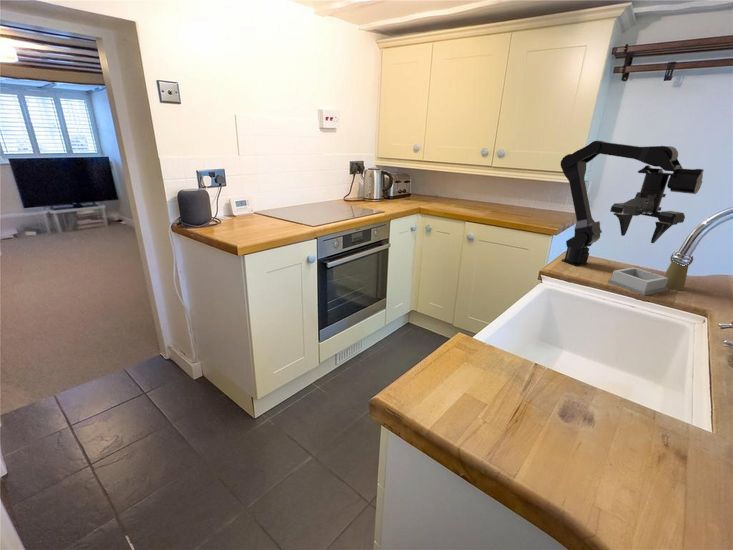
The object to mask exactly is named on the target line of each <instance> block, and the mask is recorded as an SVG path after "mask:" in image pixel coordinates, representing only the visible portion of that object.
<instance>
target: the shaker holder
mask: <svg viewBox="0 0 733 550" xmlns="http://www.w3.org/2000/svg"><path fill="white" fill-rule="evenodd" d="M667 281H668V278H667V277H664V275H661V274H658V273H654V272H650V271H648V270H645V269H641V268H638V267H628V268H622V269H616V270H613V273H612V276H611V278H608V280H607V282H608V283H609V282H610V283H609V284H612V285H614V284H615V285H614V286H617V287H620V288H622V287H623V288H622V289H625V288H626V289H625V290H629V291H630V290H631V291H630V292H634V293H637V294H639V295H641V296H649V295H653V294H657V293H658V294H659V293H662V292H667V291H668V290H669V289H668V287H666V284H667Z"/></svg>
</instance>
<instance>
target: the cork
mask: <svg viewBox="0 0 733 550" xmlns="http://www.w3.org/2000/svg"><path fill="white" fill-rule="evenodd" d="M674 253H675V252H673V253H672V254H671V255H670V264H669V266H668V268H667V269H666V271H665V273H664V275H663V276H664V277H667V278H668V281H667V284H666V287H668V289H667V290H672V291H677V290H682V291H685V286H686V280H687V275H688V269H689V266H690V265H691V264H692V263H693V262H694V256H693V255H692V257H691V260H690V262H689V264H687V265H685V266H682V265H680V264H677V263H675V262H673V260H672V256H673V254H674Z"/></svg>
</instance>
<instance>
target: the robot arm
mask: <svg viewBox="0 0 733 550" xmlns="http://www.w3.org/2000/svg"><path fill="white" fill-rule="evenodd" d="M600 154H601V155H606V156H612V157H618V158H619V157H620V158H626V159H631V160H633V159H634V160H636V161H638V162H641V163H643V164H646V165H645V166H644V167H643V168H641V169H639V170H638V171H637V173H638V174H644V178H643V181H642V185H641V188H640V190H639V191H638V192H636V194H635V196H634V198H631V199H629V200H627V201H625V202H616V203H613V204H612V205H611V206H610V213H613V216H616V217H617V219H618V221H619V228H620V235H621V237H622V236H623V237H624V236H625V235H626V234H627V231H628V230H629V227H630V224H631V221H632V219H633V216H634V217H636V216H637V217H638V216H640V215H641V216H646V217H652V218H657V219H658V221H655V228H654V231H653V234H652V236H651V239H650V244H655V243H656V242H657V241H658V239H659V238H660V237H662V236H663V234H664V233H665V232H666V231H668V230H669V229H670V228H671V227H672V226H675V225H678V224H682V223H684V221H685V218H686V215H685V213H684V212H679V211H676V210H675V211H673V210H666V211H665V210H664V211H662V207H661V202H662V200H663V198H666V196H667V194H666V193H665V190H666V187H667V188H668V189H669V191H670V192H672V193H681V194H692V195H696V194H697V193H698V192H699V191H700V189H701V186H702V184H703V178H704V177H703V175H704V171H705V170H704V169H703V168H693V169H692V168H690V169H689V168H684V167H682V165H681V163H680V161H679V160H678V157H679V152H678V150H677V148H676V147H674V146H667V145H666V146H665V145H660V146H659V145H658V146H656V145H655V146H651V145H650V146H639V145H631V144H623V143H615V142H606V141H603V140H593V141H591V142H590V143H589V144H587V145H586V146H584V147H581V148H580V149H578V150H576V151H574V152H573V153H569V154H568V153H567V154H566V155H565V156H563V157H562V159H561V160H560V168H561V171H562V173H563V175H564V176H565V178H566V179H567V180H568V182H569V189H570V193H571V197H572V202H573V203H572V204H573V208H574V214H575V219H576V222H575V226H574V236H573V237H572V236H571V237H570V238H569V239H567V240H566V242H565V244H566V247H567V249H566V252H565V256H564V258H562V259H561V261H562V262H564V263H566V264H567V263H568V264H570V265H571V266H572V265H573V266H576V267H577V266H579V267H580V266H586V265H589V261H588V259H589V257H590V252H589V251H590V248H589V247H591V246H592V245H593V244H594V243H596V242H597V241H598V240H600V238H601V234H602V233H603V231H602V229H601V222H600V221H595V220H594V219H593V217H592V212H591V207H590V206H591V205H590V201H589V196H588V191H587V186H586V180H585V176H586V173H587V164H588V163H590V162H591V161H592V160H593V159H595V158H596V157H597V156H598V155H600ZM652 167H653V168H652ZM655 167H659V168H655ZM664 171H666V172H664Z"/></svg>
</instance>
